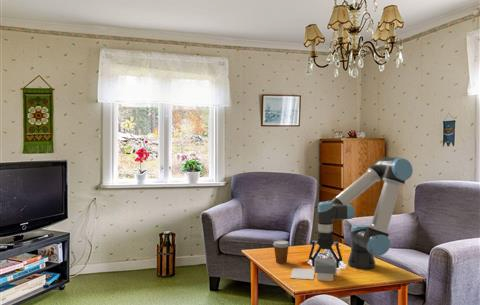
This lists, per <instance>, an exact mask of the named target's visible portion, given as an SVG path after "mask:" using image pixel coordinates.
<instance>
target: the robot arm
mask: <svg viewBox="0 0 480 305" xmlns="http://www.w3.org/2000/svg"><path fill="white" fill-rule="evenodd" d="M413 172H414V171H413V165H412V163H411V162H410V160H408V159H406V158H403V157H391V156H385V157H382V158H380V159H378V160H377V161H375V163H373V164H372V165H370V166H369V167H368V168H367V171H366V172H365V173H363V174H362V175H361V176H360V177H359V178H357V179H356V180H354V182H353V183H351V184H350V185H349V186H348V187H346V188H344V190H343V191H341V192H340V193H339V194H338V195H336V196H335V197H334V198H333V199H331V200H327V201H320V202H318V206H317V220H318V221H317V231H318V232H317V240H312V241H311V242H312V244H311V249H310V252H309V255H308V260H311V267H313V269H314V274H316V273H315V264H316V258H318V257H317V256H318V255H319V253H320V252H321V250H329V252H331V254H332V257H333V259H335V274H334V275H337V274H338V273H337V271H338V270H337V269H339V267H340V265H339V264H340V262H342V261H343V256H342V253H341V251H340V250H341V249H340V247H339V245H340V244H339V241H334V240H333V236H334V235H333V230H334V229H333V228H334V226H333V222H334V221H337V220H338V221H340V220H341V221H342V220H352V219H354V218H355V213H356V212H355V207H354V206H353V205H352V204H350V203H351V202H353V201H354V200H355V199H356V198H357V197H359V196H360V195H362V194H363V193H364V192H365V191H367V190H368V189H369V188H370V187H371V186H373V185H374V184H375V183H377V182H380V181H383V186H382V188H381V191H380V195H379V198H378V202H377V204H376V207H375V211H374V215H373V218H372V220H371V224H367V225H364V224H359V225H352V226H351V228H350V253H349V256H348V260H347V265H348V266H349V267H351V268H354V269H359V270H370V269H374V268H375V267H376V260H375V257H374V256H378V257H380V256H383V255H384V254H386V253H388V251H389V250H390V248H391V241H390V238H389V235H390V232H389V224H390V222H391V218H392V216H393V212H394V208H395V205H396V201H397V200H398V195H399V192H400V189H401V187H402V186H405V183H406V181H407V180H408V179H410V178H411V177H412V175H413ZM316 245H318V248H317V250H316V251H315V253H314V250H315V246H316ZM333 245H334V247H336V248H335V249H336V252H337V254H338V256H337V254H336V252H335V251H334V249H333ZM313 253H314V254H313ZM312 255H313V256H312Z"/></svg>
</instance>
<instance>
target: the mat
mask: <svg viewBox="0 0 480 305" xmlns="http://www.w3.org/2000/svg"><path fill="white" fill-rule="evenodd" d="M291 278H295V279H294V280H306V279H311V280H310V281H313V280H315V273H314V268H313V269H311V268H299V267H297V268H295V267H293V268H292V271H291V274H290V279H291Z"/></svg>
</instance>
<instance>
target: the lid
mask: <svg viewBox="0 0 480 305" xmlns="http://www.w3.org/2000/svg"><path fill="white" fill-rule="evenodd" d="M315 260H316V264H315V273H314V274H317V273H326V274H333V275H335V261H336V260H335V258H327V257H326V258H325V257H322V258H321V257H316V258H315Z"/></svg>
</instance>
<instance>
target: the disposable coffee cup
mask: <svg viewBox="0 0 480 305" xmlns="http://www.w3.org/2000/svg"><path fill="white" fill-rule="evenodd" d="M272 245H273V248H274V249H273V250H274V255H275V263H276V264H279V265H280V264H282V265H283V264H286V263H287V261H288V254H289V246H290V242H289V241H287V240H280V239H279V240H275V241H273V244H272Z"/></svg>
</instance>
